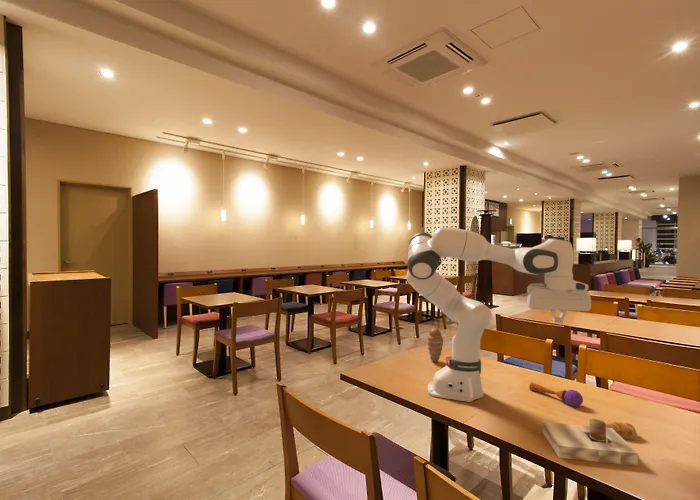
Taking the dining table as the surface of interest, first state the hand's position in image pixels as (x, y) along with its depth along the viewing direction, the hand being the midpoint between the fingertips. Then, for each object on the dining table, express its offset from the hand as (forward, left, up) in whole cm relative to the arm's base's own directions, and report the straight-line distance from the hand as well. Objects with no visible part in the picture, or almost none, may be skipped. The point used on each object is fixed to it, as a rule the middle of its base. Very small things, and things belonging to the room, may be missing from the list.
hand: (557, 322), depth 130 cm
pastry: (+15, -11, -34) cm, 39 cm away
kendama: (+4, +14, -34) cm, 37 cm away
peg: (+4, -22, -33) cm, 40 cm away
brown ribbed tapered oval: (-41, +50, -34) cm, 73 cm away
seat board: (+1, -22, -33) cm, 40 cm away
